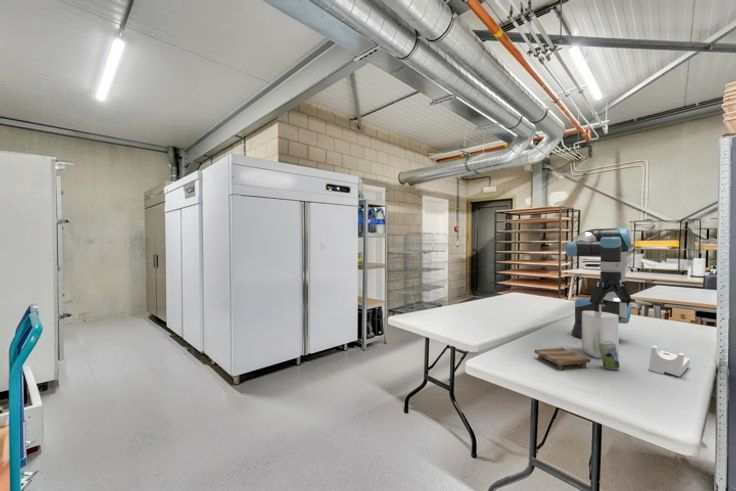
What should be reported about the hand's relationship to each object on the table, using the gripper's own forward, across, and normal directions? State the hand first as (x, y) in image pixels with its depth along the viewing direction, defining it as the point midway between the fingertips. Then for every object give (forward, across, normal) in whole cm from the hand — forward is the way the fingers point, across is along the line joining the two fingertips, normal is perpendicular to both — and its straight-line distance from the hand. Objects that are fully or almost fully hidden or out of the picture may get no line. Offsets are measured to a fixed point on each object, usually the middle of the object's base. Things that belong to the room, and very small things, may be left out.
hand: (610, 318), depth 143 cm
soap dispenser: (+23, +10, +15) cm, 29 cm away
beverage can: (+23, 0, 0) cm, 23 cm away
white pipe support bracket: (+23, +24, -6) cm, 34 cm away
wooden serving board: (+23, -16, +10) cm, 30 cm away
